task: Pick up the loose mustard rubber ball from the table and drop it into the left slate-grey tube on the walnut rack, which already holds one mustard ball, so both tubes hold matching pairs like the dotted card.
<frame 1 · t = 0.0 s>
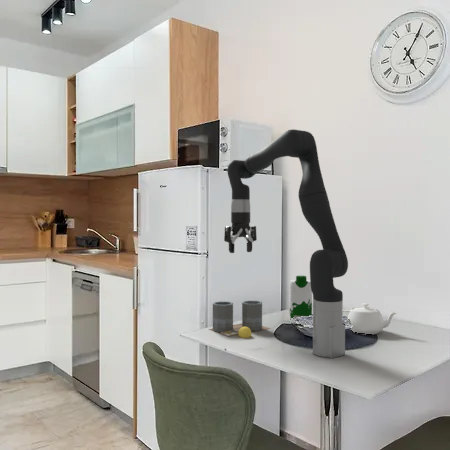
hand: (240, 252, 186), 29 cm above the table, fingers open, 8 cm apart
milk carton: (300, 326, 188), on the table
teapot: (367, 332, 178), on the table
rack: (239, 332, 178), on the table
mustard ball in tube: (222, 329, 176), point 1 cm above the table, touching rack
mustard ball: (244, 339, 167), on the table
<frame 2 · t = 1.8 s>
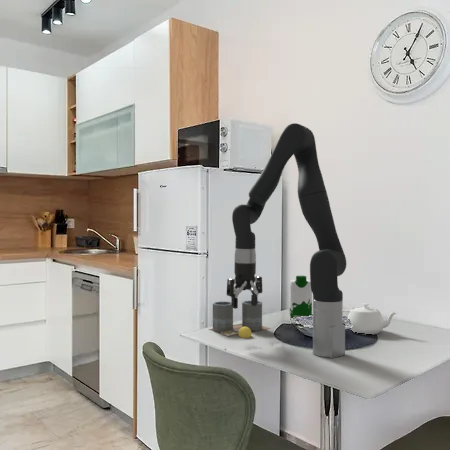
hand: (244, 306, 167), 12 cm above the table, fingers open, 8 cm apart
nothing on the table moved.
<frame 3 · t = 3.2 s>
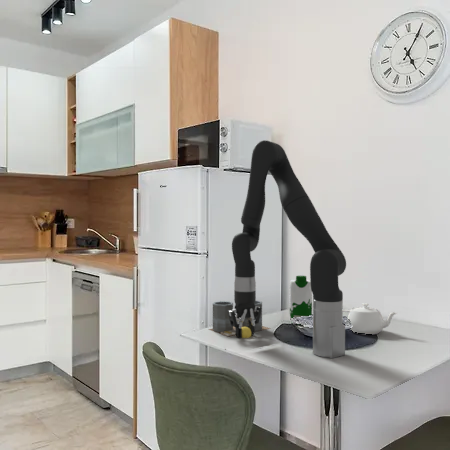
hand: (244, 336, 167), 1 cm above the table, fingers closed on mustard ball, 4 cm apart
mustard ball: (244, 339, 167), on the table, touching gripper
everything else where it was.
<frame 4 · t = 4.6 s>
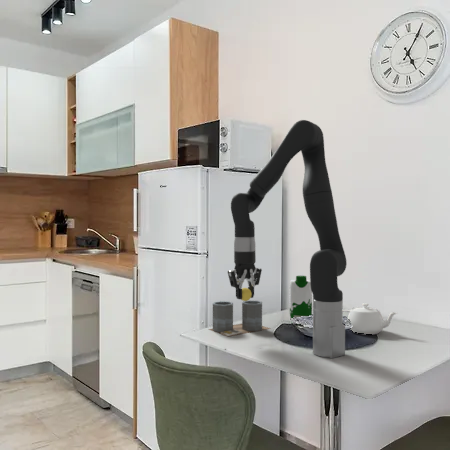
hand: (245, 298, 167), 15 cm above the table, fingers closed on mustard ball, 4 cm apart
mustard ball: (245, 300, 167), point 14 cm above the table, touching gripper
everything else where it was.
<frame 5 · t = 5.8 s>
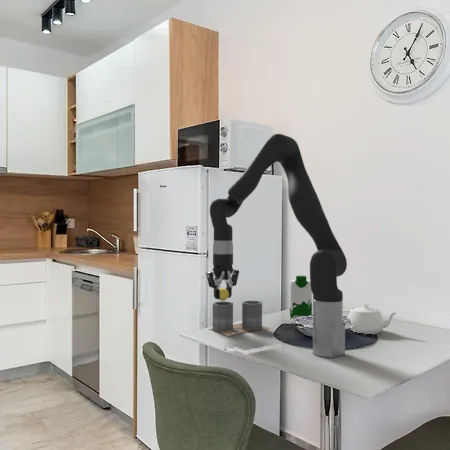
hand: (222, 298, 176), 13 cm above the table, fingers closed on mustard ball, 4 cm apart
mustard ball: (222, 300, 176), point 12 cm above the table, touching gripper
everything else where it was.
when the fingers open (12 cm above the table, at t = 6.3 s): mustard ball drops 5 cm and tips over, resting on mustard ball in tube.
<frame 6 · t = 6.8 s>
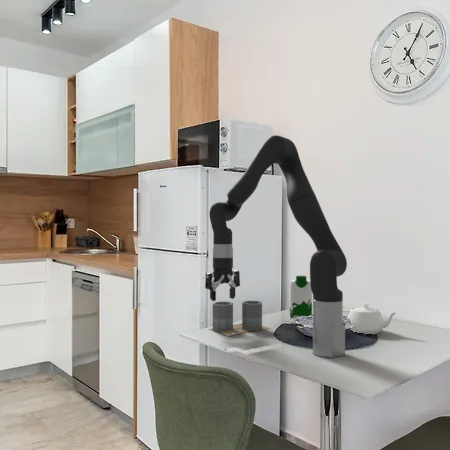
hand: (222, 299, 176), 13 cm above the table, fingers open, 8 cm apart
mustard ball in tube: (222, 329, 176), point 1 cm above the table, tilted 9°, touching mustard ball, rack
mustard ball: (224, 316, 176), point 6 cm above the table, tilted 34°, touching mustard ball in tube
everything else where it was.
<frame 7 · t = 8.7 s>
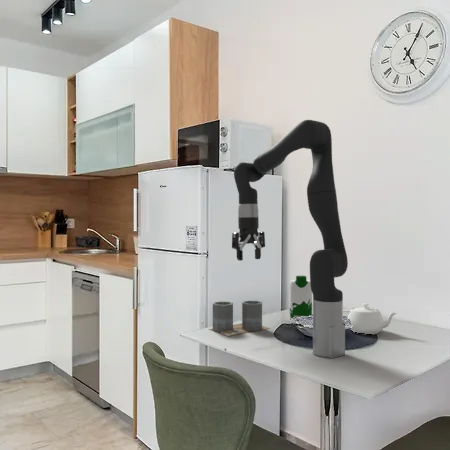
hand: (249, 259, 177), 27 cm above the table, fingers open, 8 cm apart
mustard ball in tube: (222, 329, 176), point 1 cm above the table, tilted 18°, touching mustard ball, rack
mustard ball: (225, 316, 176), point 6 cm above the table, tilted 52°, touching mustard ball in tube, rack
everything else where it was.
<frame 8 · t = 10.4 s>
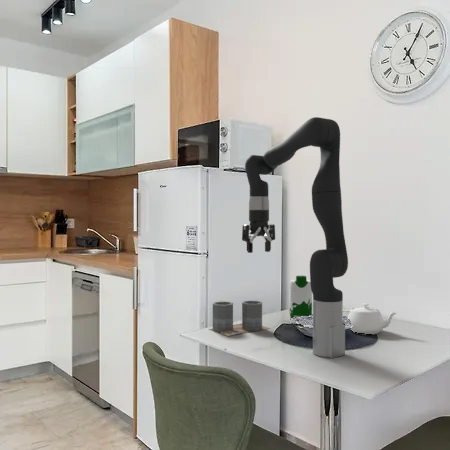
hand: (258, 252, 177), 30 cm above the table, fingers open, 8 cm apart
nothing on the table moved.
at the end: mustard ball 1.1 cm from the target spot, point 6.5 cm above the table; the gripper is holding nothing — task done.
